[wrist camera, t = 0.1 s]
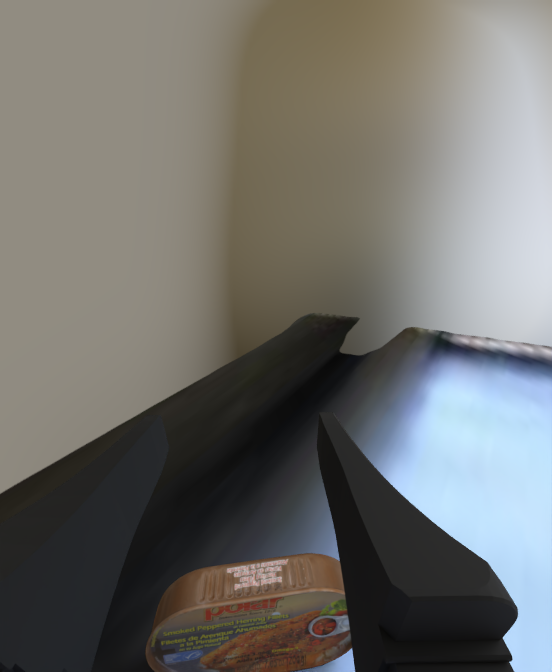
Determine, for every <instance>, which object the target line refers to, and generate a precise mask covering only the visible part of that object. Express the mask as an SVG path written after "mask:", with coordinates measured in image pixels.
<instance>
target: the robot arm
mask: <svg viewBox="0 0 552 672" xmlns="http://www.w3.org/2000/svg"><path fill="white" fill-rule="evenodd" d="M168 450H169V446H168V442H167V438H166V434H165V430H164V426H163V422H162V418H161V415H147V416H146V417H145V418H143V419H142V420H141V421H140V422H139V423H138V424H136V425H135V426H134V427H133V428H132V429H131V430H130V431H128V432H127V433H126V434H125V435H124V436H123V437H122V438H120V439H119V440H118V441H117V442H116V443H114V444H113V445H112V446H111V447H110V448H109V449H107V450H106V451H105V452H104V453H103V454H101V455H100V456H99V457H98V458H96V459H95V460H94V461H93V462H91V463H90V464H89V465H87V466H86V467H85V468H84V469H82V470H81V471H80V472H79V473H77V474H76V475H75V476H73V477H72V478H70V479H69V480H68V481H66V482H65V483H63V484H62V485H61V486H59V487H58V488H56V489H55V490H53V491H52V492H50V493H49V494H47V495H46V496H44V497H43V498H41V499H40V500H38V501H37V502H35V503H33V504H32V505H30V506H29V507H27V508H25V509H24V510H22V511H21V512H19V513H18V514H16V515H14V516H13V517H11V518H9V519H8V520H6V521H4V522H3V523H1V524H0V672H91V669H92V666H93V662H94V658H95V655H96V651H97V648H98V644H99V640H100V637H101V633H102V630H103V627H104V623H105V620H106V617H107V613H108V610H109V607H110V604H111V600H112V597H113V594H114V591H115V588H116V585H117V582H118V579H119V576H120V573H121V570H122V567H123V564H124V561H125V558H126V555H127V552H128V549H129V547H130V544H131V541H132V538H133V535H134V533H135V531H136V528H137V526H138V523H139V521H140V519H141V517H142V515H143V512H144V510H145V508H146V506H147V503H148V501H149V499H150V497H151V495H152V492H153V490H154V488H155V486H156V483H157V481H158V479H159V477H160V474H161V472H162V469H163V466H164V463H165V460H166V457H167V453H168ZM317 450H318V457H319V464H320V470H321V474H322V479H323V483H324V487H325V491H326V495H327V499H328V503H329V507H330V511H331V515H332V519H333V524H334V529H335V533H336V540H337V546H338V552H339V558H340V565H341V571H342V578H343V585H344V591H345V598H346V606H347V613H348V620H349V627H350V634H351V642H352V650H353V657H354V665H355V672H514V671H513V669H512V667H511V665H510V663H509V662H511V661H512V655H511V653H510V651H509V649H508V648H507V646H506V644H505V642H504V640H503V636H504V635H505V634H506V633H507V632H508V630H509V629H510V628H511V627H512V626H513V624H514V623H515V621H516V619H517V616H518V609H517V606H516V605H515V603H514V602H513V600H512V598H511V597H510V595H509V593H508V592H507V590H506V589H505V587H504V585H503V584H502V582H501V581H500V579H499V578H498V577H497V575H496V574H495V572H494V571H493V570H492V568H491V567H490V565H489V564H488V563H487V562H486V561H485V560H483V559H482V558H481V557H479V556H478V555H476V554H475V553H474V552H472V551H471V550H469V549H468V548H467V547H465V546H464V545H462V544H461V543H459V542H458V541H457V540H455V539H454V538H453V537H451V536H450V535H449V534H447V533H446V532H445V531H444V530H442V529H441V528H440V527H438V526H437V525H436V524H435V523H433V522H432V521H431V520H430V519H429V518H427V517H426V516H425V515H424V514H423V513H422V512H420V511H419V510H418V509H417V508H416V507H415V506H413V505H412V504H411V503H410V502H409V501H408V500H407V499H406V498H405V497H403V496H402V495H401V494H400V493H399V492H398V491H397V490H396V489H395V488H394V487H393V486H392V485H391V484H390V483H389V482H388V481H387V480H386V479H385V478H384V477H383V476H382V475H381V474H380V472H379V471H378V470H377V469H376V468H375V467H374V466H373V465H372V463H371V462H370V461H369V460H368V459H367V458H366V456H365V455H364V454H363V453H362V452H361V450H360V449H359V448H358V446H357V445H356V444H355V443H354V441H353V440H352V439H351V437H350V436H349V435H348V433H347V432H346V430H345V429H344V427H343V426H342V425H341V423H340V422H339V420H338V418H337V417H336V415H335V414H334V413H333V412H328V413H319V425H318V439H317Z"/></svg>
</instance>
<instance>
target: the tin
mask: <svg viewBox="0 0 552 672" xmlns="http://www.w3.org/2000/svg"><path fill="white" fill-rule="evenodd" d="M351 648H352V642H351V634H350V627H349V620H348V613H347V606H346V598H345V591H344V585H343V578H342V571H341V565H340V561H338V560H336V559H335V558H332V557H330V556H326V555H322V554H313V553H307V554H298V555H291V556H283V557H275V558H268V559H260V560H253V561H247V562H239V563H233V564H226V565H219V566H211V567H205V568H202V569H198V570H195V571H192V572H190V573H188V574H186V575H184V576H182V577H180V578H179V579H178V580H176V581H175V582H174V583H173V584H171V585H170V586H169V588H168V589H167V590H166V591H165V593H164V594H163V596H162V598H161V600H160V603H159V606H158V609H157V613H156V616H155V620H154V624H153V628H152V632H151V635H150V637H149V639H148V642H147V645H146V651H145V653H146V659H147V662H148V664H149V666H150V667H151V668H152V669H153V670H154V671H155V672H290V671H295V670H302V669H307V668H312V667H317V666H320V665H324V664H326V663H328V662H330V661H333V660H335V659H337V658H339V657H340V656H342V655H344V654H345V653H347V652H348V651H349V650H350V649H351Z"/></svg>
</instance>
